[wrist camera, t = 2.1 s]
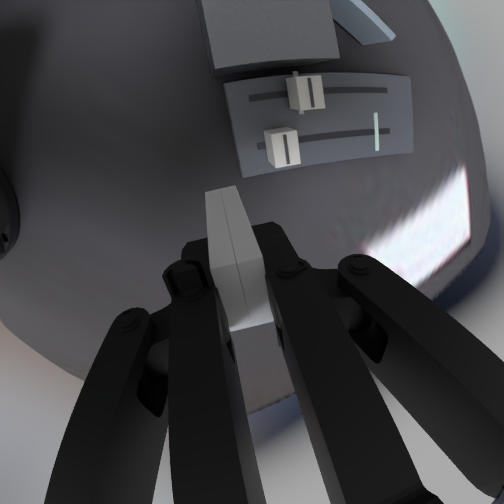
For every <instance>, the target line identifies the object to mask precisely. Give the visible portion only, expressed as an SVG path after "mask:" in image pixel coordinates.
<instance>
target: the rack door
mask: <svg viewBox="0 0 504 504" xmlns="http://www.w3.org/2000/svg"><path fill="white" fill-rule="evenodd" d="M329 4H330V9H331V13H332V18H333V19H334V20H335V21H337V22H338V23H339V24H340V25H341V26H342V27H344V28H345V29H346V30H347V31H348V32H349V33H350V34H351V35H352V36H353V37H355V38H356V39H357V40H358V41H359V42H360V43H361V44H362V45H363V46H364V45H369V44H375V43H381V42H388V41H392V40H393V39H394V38H395V36H396V35H395V34H394V33H393V32H392V31H391V30H390V29H389V28H388V26H387V23H386V21H385V20H384V19H382V18H380V17H378V16H377V15H376V14H375V13H374V12H373V11H372V10H371V9H370V8H368V7H367V6H366V5H365V4H364V3H363V2H362V1H361V0H329Z"/></svg>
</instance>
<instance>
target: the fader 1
mask: <svg viewBox="0 0 504 504" xmlns="http://www.w3.org/2000/svg"><path fill="white" fill-rule="evenodd" d="M264 137H265V143H266V149H267V156H268V161H269V162H270V163H271V164H272V165H273V166H274V167H275V168H280V167H286V166H291V165H297V164H301V161H300V152H299V144H298V136H297V130H294V129H292V128H289V127H282V128H276V129H270V130H264Z"/></svg>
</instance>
